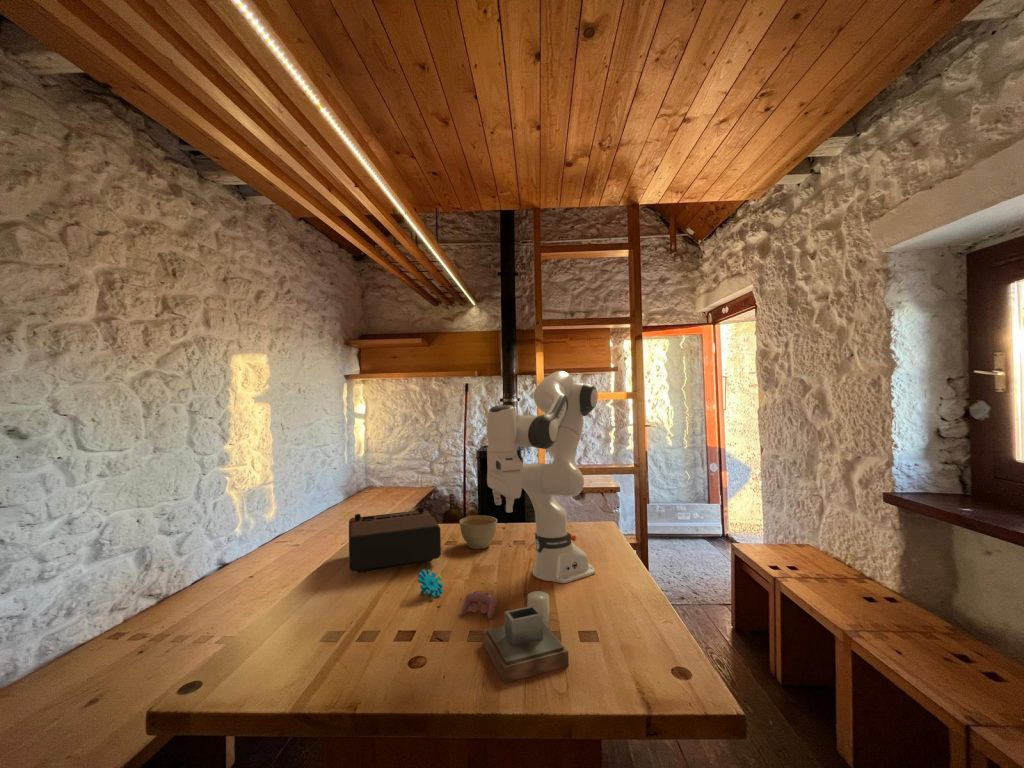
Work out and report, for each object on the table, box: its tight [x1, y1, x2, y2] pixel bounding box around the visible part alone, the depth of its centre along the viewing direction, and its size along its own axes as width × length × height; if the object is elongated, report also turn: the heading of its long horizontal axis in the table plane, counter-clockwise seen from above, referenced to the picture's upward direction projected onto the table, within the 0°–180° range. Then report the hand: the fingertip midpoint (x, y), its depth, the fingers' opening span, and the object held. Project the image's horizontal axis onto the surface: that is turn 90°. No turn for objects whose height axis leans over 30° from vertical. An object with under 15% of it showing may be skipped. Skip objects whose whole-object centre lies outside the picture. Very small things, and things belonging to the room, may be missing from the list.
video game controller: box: [460, 590, 497, 621], centre depth 125 cm, size 10×5×7 cm, turn 72°
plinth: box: [482, 623, 570, 684], centre depth 104 cm, size 16×16×4 cm
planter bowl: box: [459, 515, 498, 550], centre depth 183 cm, size 16×16×11 cm
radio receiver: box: [348, 506, 442, 574], centre depth 168 cm, size 35×27×18 cm
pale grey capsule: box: [527, 590, 551, 629], centre depth 118 cm, size 6×6×8 cm
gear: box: [417, 568, 444, 599], centre depth 138 cm, size 11×6×10 cm
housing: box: [504, 606, 543, 647], centre depth 104 cm, size 5×8×6 cm, turn 111°
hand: (503, 508), depth 124 cm, fingers open, 8 cm apart
